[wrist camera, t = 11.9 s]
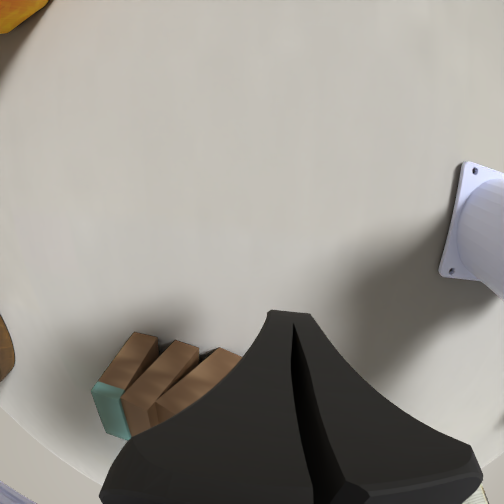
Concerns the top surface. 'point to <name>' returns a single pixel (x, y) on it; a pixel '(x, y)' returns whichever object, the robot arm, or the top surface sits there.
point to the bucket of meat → (17, 12)
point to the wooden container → (5, 351)
